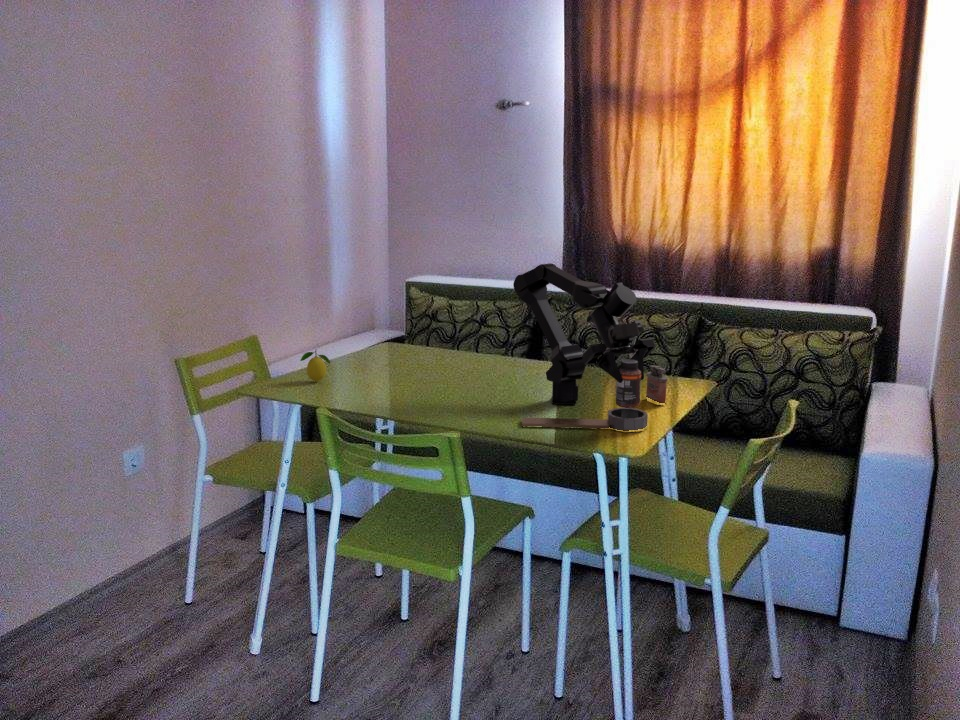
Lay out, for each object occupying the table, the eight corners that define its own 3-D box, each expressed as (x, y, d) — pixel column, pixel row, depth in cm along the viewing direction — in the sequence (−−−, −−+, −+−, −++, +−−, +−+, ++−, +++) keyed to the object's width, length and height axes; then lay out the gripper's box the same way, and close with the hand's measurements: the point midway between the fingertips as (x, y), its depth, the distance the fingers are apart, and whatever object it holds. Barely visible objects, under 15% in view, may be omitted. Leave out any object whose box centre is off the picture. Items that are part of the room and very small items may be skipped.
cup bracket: (521, 430, 226) (522, 416, 225) (522, 418, 235) (522, 405, 234) (648, 433, 224) (649, 419, 224) (644, 421, 234) (644, 408, 233)
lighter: (642, 398, 254) (644, 363, 252) (653, 397, 255) (655, 362, 253) (657, 406, 247) (660, 370, 244) (668, 405, 248) (671, 369, 246)
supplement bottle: (633, 401, 232) (636, 357, 229) (643, 408, 226) (646, 363, 223) (611, 402, 230) (613, 358, 227) (621, 409, 224) (623, 364, 222)
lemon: (301, 383, 266) (299, 349, 264) (311, 378, 271) (309, 345, 269) (321, 385, 264) (320, 351, 262) (331, 380, 269) (330, 347, 267)
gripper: (591, 312, 222) (615, 367, 215) (654, 306, 230) (679, 359, 223) (572, 337, 230) (594, 391, 224) (633, 331, 239) (656, 383, 232)
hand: (632, 380), depth 225 cm, fingers closed on supplement bottle, 6 cm apart
